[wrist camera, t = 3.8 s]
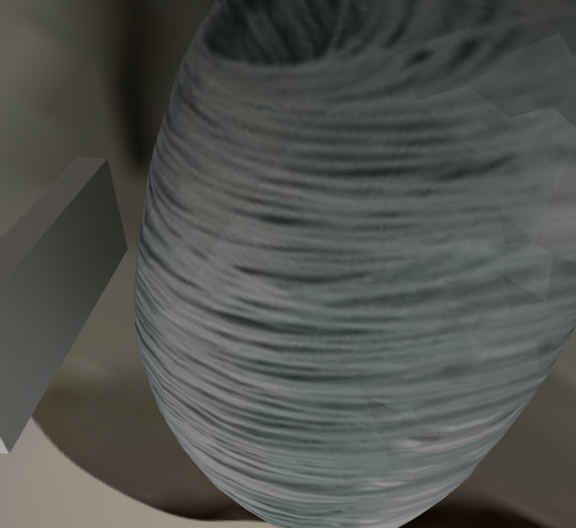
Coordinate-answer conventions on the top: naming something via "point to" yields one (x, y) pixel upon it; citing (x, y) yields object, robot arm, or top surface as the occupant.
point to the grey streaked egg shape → (359, 246)
